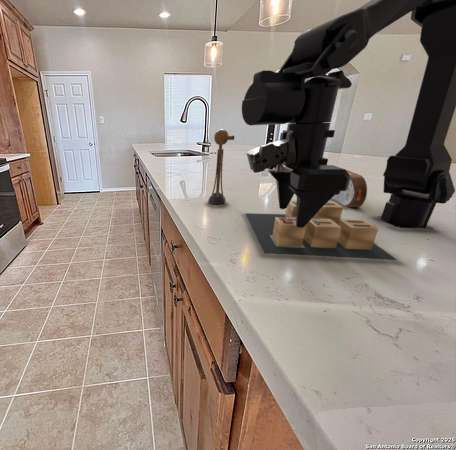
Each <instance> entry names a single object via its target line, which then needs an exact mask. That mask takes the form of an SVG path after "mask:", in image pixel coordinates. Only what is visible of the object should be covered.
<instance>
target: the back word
mask: <svg viewBox="0 0 456 450" xmlns="http://www.w3.org/2000/svg"><path fill="white" fill-rule="evenodd" d="M296 205H297V200H291V201H290V203H289V204H288V206H287V208H286V209H285V217H291V218H296ZM343 210H344V207H343V206H342V205H340V204H338V203H337V202H336V201H328V202H327V203H326V204H325V205H324V206H323V207H322V208H321V209H320V210H319V211H318V212H317V213H316V214H315V216H314V217H313V218H312V219H331V220H332V221H334V222H335V223H336V224H338V223H339V220H340V219H341V217H342V214H343Z"/></svg>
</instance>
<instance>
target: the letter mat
mask: <svg viewBox="0 0 456 450" xmlns="http://www.w3.org/2000/svg"><path fill="white" fill-rule="evenodd" d="M245 216H246V218H247V220H248V222H249V224H250V226H251V228H252V231H253V232H254V234H255V237H256V239H257V241H258V243H259V245H260V247H261V249H262V251H263V254H272V255H291V256H311V257H329V258H330V257H331V258H349V259H350V258H351V259H370V260H371V259H372V260H374V259H375V260H389V261H390V260H391V261H392V260H393V261H398V259H397V258H396V257H394V256H393V255H391V254H390V253H388V252H387V251H386V250H384V249H383V248H382V247H380V246H379V245H377V244H376V243H375V242H374V243H373V246H372V249H371V250H362V249H345V248H344V247H343V246H342V245H341V244H340V243H338V242H337V246H336V248H318V247H310V245H309V244H308V243H307V242H306V241H305V240H304V239H303V242H302V246H286V245H278V244H277V243H276V241H275V239H274V238H273V236H272V234H273V229H274V223H275V217H285V214H284V213H283V214H282V213H250V212H248V213H247V212H246V213H245Z"/></svg>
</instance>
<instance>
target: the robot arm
mask: <svg viewBox="0 0 456 450" xmlns="http://www.w3.org/2000/svg"><path fill="white" fill-rule="evenodd" d="M409 13H410V20H411V21H412V22H413V23H415V25H418V26H419V27H420V28H421V29H420V36H419V42H420V45H421V46H422V48H423V51H424V52H425V54H426V56H427V61H426V65H425V68H424V73H423V76H422V80H421V84H420V87H419V91H418V96H417V100H416V103H415V107H414V110H413V114H412V117H411V122H410V126H409V130H408V133H407V138H406V140H405V144H404V146H403V147H402V148H401V149H400V150H399V151H398V152H397V153H395V155H390V156H389V157H388V158H387V159H386V167H385V169H384V172H383V174H382V176H383V191H382V192H383V193H384V194H390V197H389V199H388V200H387V201H386V202H385V205H384V208H383V210H382V213H381V215H378V216H377V218H379V219H380V220H382V221H383V222H385V223H387V224H390V225H391V226H393V227H395V228H399V229H425V230H426V229H430V230H433V229H434V227H432V226H430V225H428V224H429V222H430V219H431V217H432V214H433V213H434V210H435V208H436V205H437V204H447V202H449V201H450V199H451V198H453V195H454V194H455V192H456V189H455V186H454V183H453V180H452V176H451V172H450V170H451V165H452V161H453V159H452V157H451V155H450V153H449V151H448V149H447V148H446V145H445V141H446V138H447V135H448V133H449V130H450V126H451V123H452V120H453V117H454V114H455V112H456V111H455V110H456V0H370V1H368V2H366V3H365V4H363V5H361V6H360V7H358V8H357V9H355V10H353V11H350V12H348V13H345V14H342V15H340V16H337V17H335V18H333V19H331V20H328V21H325V22H324V23H322V24H319V25H316V26H315V27H312V28H310V29H308V30H306V31H304V32H302V33H301V34H300V35H298V36H297V38H296V39H295V40H294V42H293V43H294V45H293V48H292V51H291V52H290V54H289V55H288V57H287V58H286V60H285V61H284V63H283V64H282V65H281V67H280V68H279V70H278V71H273V70H266V69H265V70H261V71H258V72H255V73H254V74H253V76H252V77H253V78H252V83H251V84H250V85H249V86H248V88H247V90H246V92H245V95H244V98H243V100H242V101H241V116H242V119H243V121H244V123H245V124H246V125H248V126H271V125H286V124H287V126H286V127H287V128H286V129H283V130H282V132H280V134H279V135H280V136H279V139H278V140H275V141H273V142H272V141H271V142H268V143H266V144H264V145H262V144H261V145H259V146H258V147H255V148H253V149H250V150H248V151H246V152H245V153H246V157H247V161H248V164H249V165H248V166H249V168H250V170H252V172H253V173H256V174H257V173H261V172H265V170H267V172H268V173H269V174H270V175H271V177H272V178H273V179H274V180H275V183H276V189H277V198H278V208H279V209H280V210H286V208H287V206H288V204H289V203H290V201H292V199H293V197H294V195H295V197H296V201H297V205H296V226H297V227H299V228H303V227H305V226H306V224H307V223H308V222H309V221H310V220H311V219H312V218H313V217H314V216H315V214H316V213H317V212H318V211H319V210H320V209H321V208H322V207H323V206H324V205H325V204H326V203H327V202H330V200H332V199H333V198H332V197H333V196H334V195H338V194H340V192H341V191H346V190H347V189H348V185H349V182H350V178H351V176H350V175H349V173H348V172H347V171H346V170H347V169H345V168H343V167H339V166H336V165H334V164H328V161H329V158H327V157H324V154H325V151H326V146H327V142H328V141H327V140H328V138H330V139H331V138H334V136H335V132H336V130H335V129H330V127H331V122H332V119H333V115H334V110H335V105H336V101H337V97H338V92H339V90H345V89H350V88H351V87H352V84H353V82H352V81H351V80H350V78H348V77H347V76H346V75H345V73H344V70H342V69H340V68H342V67H345V66H346V65H348V64H349V63H350V62H351V61H353V60H354V59H355V58H356V57H357V56H358V55H359V54H361V53H362V52H363V51H364V50H365V49H366V48H367V46H368V43H369V41H370V39H372V38H373V37H374V36H375V35H376V34H378V33H379V32H381V31H383V30H384V29H386V28H387V27H388V26H390V25H392V24H393V23H395V22H396V21H399V20H400V19H401V18H403V17H405V16H406V15H407V14H409ZM337 69H340V70H337ZM332 70H336V71H332Z"/></svg>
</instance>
